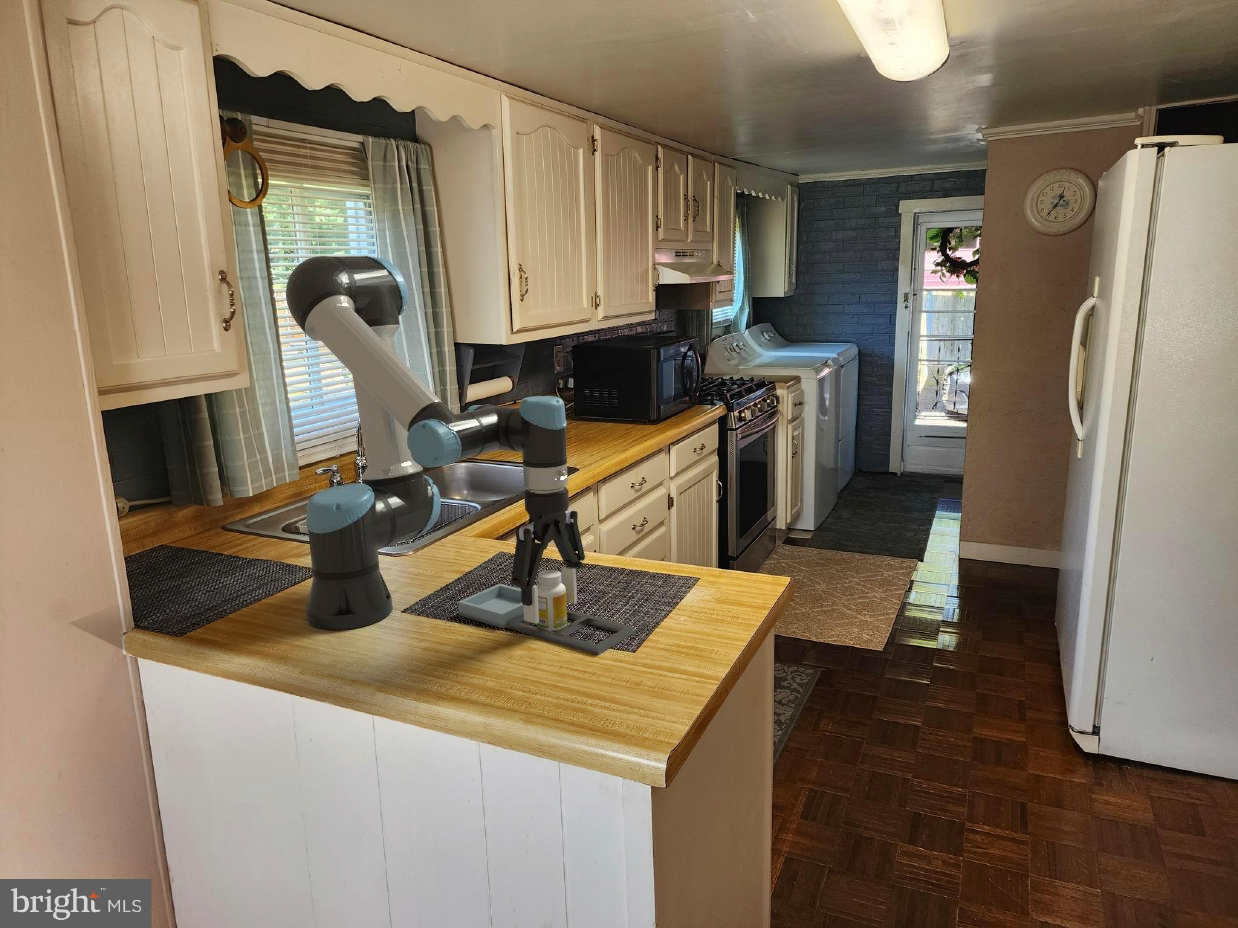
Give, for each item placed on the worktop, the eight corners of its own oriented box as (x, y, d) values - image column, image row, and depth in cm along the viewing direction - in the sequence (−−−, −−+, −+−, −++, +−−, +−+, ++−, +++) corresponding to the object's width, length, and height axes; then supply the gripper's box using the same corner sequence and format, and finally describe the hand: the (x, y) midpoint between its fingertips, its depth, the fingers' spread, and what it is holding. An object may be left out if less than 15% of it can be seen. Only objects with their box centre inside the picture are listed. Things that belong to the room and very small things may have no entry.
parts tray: (503, 628, 148) (502, 614, 148) (458, 615, 155) (458, 601, 154) (543, 607, 157) (543, 594, 156) (500, 596, 163) (499, 583, 163)
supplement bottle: (567, 619, 152) (565, 567, 150) (566, 631, 146) (564, 578, 144) (537, 620, 152) (535, 568, 149) (535, 632, 146) (533, 579, 144)
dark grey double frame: (598, 654, 137) (598, 647, 137) (507, 627, 148) (506, 621, 148) (633, 633, 145) (633, 626, 145) (544, 609, 156) (544, 603, 156)
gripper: (518, 505, 133) (524, 638, 137) (603, 477, 150) (606, 595, 155) (483, 499, 137) (491, 628, 142) (570, 472, 155) (574, 587, 159)
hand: (551, 611), depth 148 cm, fingers open, 10 cm apart
